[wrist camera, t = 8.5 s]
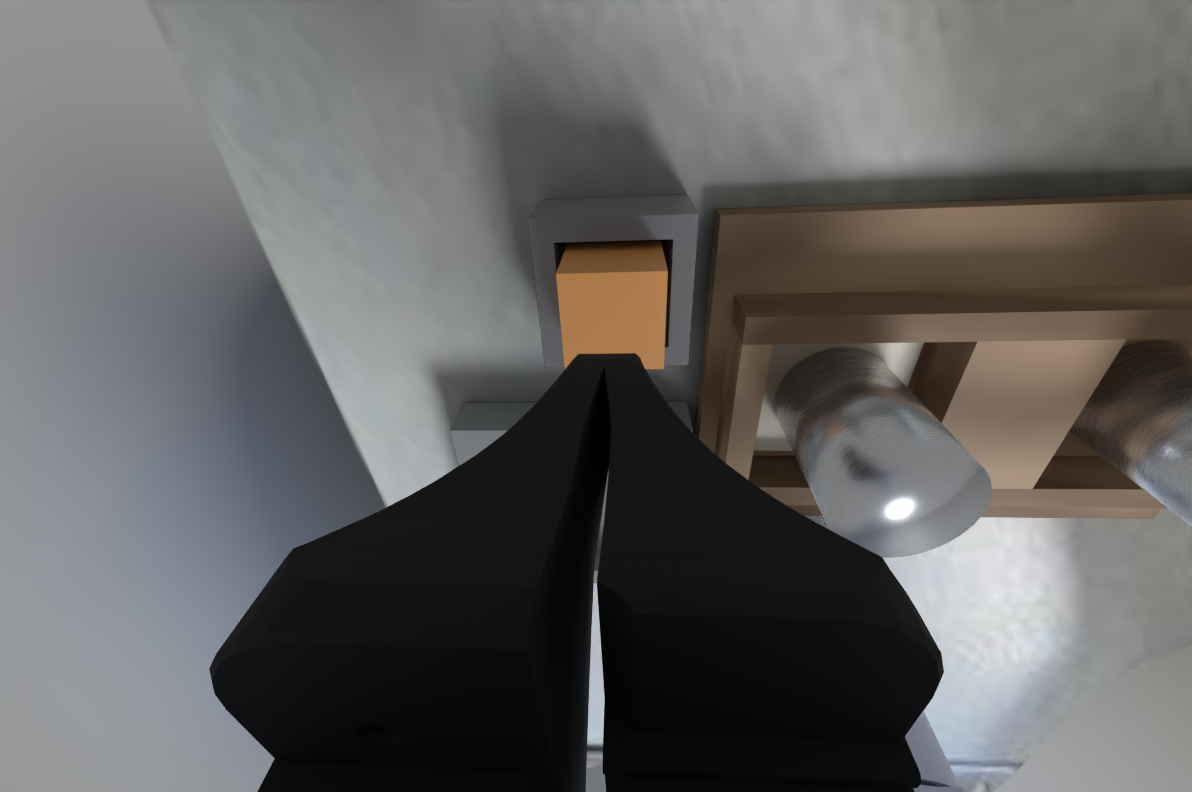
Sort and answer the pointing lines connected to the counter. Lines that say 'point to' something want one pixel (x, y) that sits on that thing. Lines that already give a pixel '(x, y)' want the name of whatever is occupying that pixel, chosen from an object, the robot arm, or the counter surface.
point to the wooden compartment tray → (949, 328)
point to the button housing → (616, 223)
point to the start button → (613, 300)
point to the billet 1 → (877, 455)
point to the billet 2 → (1146, 420)
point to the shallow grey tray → (495, 418)
